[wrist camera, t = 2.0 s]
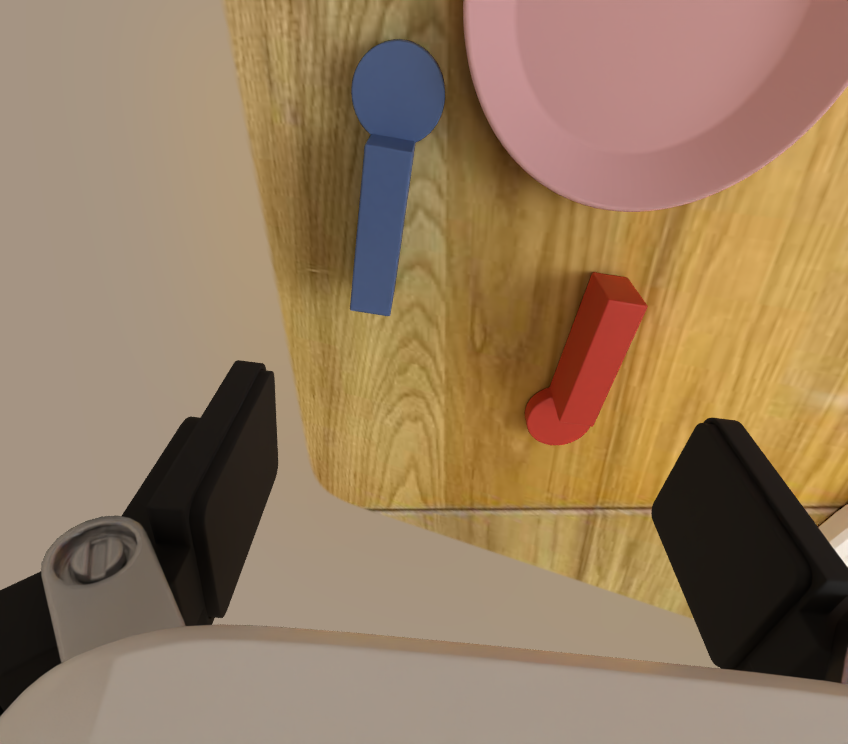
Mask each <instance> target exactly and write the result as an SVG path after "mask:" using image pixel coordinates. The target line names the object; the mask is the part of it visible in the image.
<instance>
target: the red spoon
mask: <svg viewBox="0 0 848 744" xmlns="http://www.w3.org/2000/svg"><path fill="white" fill-rule="evenodd" d="M646 309H647V304H646V303H645V302H644V300H643V299H642V297H641V296H640V295H639V293H638V292H637V290H636V289H635V287H634V286H633V285H632V283H631V282H630V280H629V279H628V278H625V277H619V276H613V275H607V274H601V273H595V272H593V273H592V275H591V277H590V280H589V283H588V285H587V288H586V291H585V294H584V296H583V299H582V302H581V304H580V307H579V310H578V312H577V315H576V318H575V320H574V323H573V326H572V328H571V331H570V334H569V336H568V339H567V342H566V344H565V347H564V350H563V352H562V355H561V358H560V360H559V363H558V366H557V369H556V371H555V374H554V377H553V379H552V382H551V385H550V387H549V388H546V389H543V390H541V391H539V392H538V393H536V394H535V395H534V396H533V397H532V398H531V399H530V400H529V402H528V404H527V406H526V409H525V419H526V424H527V428H528V431H529V433H530V434H531V435H532V436H533V437H534V438H535V439H536V440H538V441H539V442H542V443H544V444H548V445H564V444H568V443H571V442H573V441H575V440H577V439H579V438H580V437H582V436H583V435H584V434H585V433H586V432H587V431H588V429H589V427H590V426H591V427H592V426H593V425H594V423H595V421H596V419H597V416H598V414H599V412H600V410H601V408H602V405H603V403H604V401H605V399H606V397H607V395H608V392H609V390H610V388H611V386H612V384H613V381H614V379H615V377H616V375H617V373H618V370H619V368H620V366H621V364H622V362H623V360H624V357H625V355H626V353H627V351H628V349H629V346H630V344H631V342H632V340H633V338H634V335H635V333H636V331H637V329H638V327H639V325H640V322H641V320H642V318H643V316H644V314H645V311H646Z"/></svg>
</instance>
